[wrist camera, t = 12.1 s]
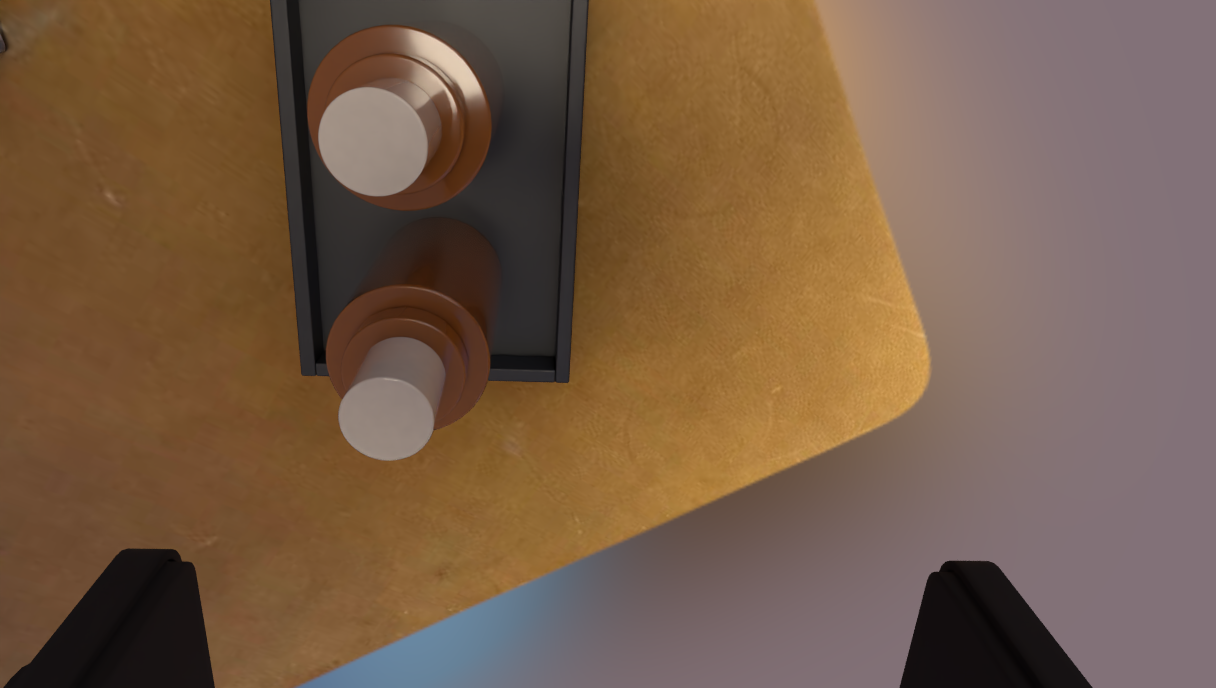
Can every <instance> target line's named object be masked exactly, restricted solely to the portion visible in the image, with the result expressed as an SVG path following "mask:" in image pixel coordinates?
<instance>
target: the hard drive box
mask: <svg viewBox="0 0 1216 688" xmlns="http://www.w3.org/2000/svg"><path fill="white" fill-rule="evenodd" d="M4 51H5V44H4V41H3V39H2V36H1V34H0V53H1V52H4Z"/></svg>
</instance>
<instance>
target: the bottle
mask: <svg viewBox="0 0 1216 688" xmlns="http://www.w3.org/2000/svg"><path fill="white" fill-rule="evenodd" d="M504 102H505V87H504V81H503V76H502V73H501V70H500V67H499V65H498V63H497V61H496V59H495V57H494V56H493V54H492V52H491V51H490V50H489V48H488V47H487V46H486V45H485V44H484V43H483V42H482V41H481V40H480V39H479V38H478V37H477V36H476V35H474V34H473V33H472V32H470V31H468V30H467V29H465V28H463V27H461V26H459V25H456V24H454V23H450V22H446V21H440V20H423V21H414V22H404V23H395V24H386V25H379V26H372V27H369V28H365V29H362V30H359V31H357V32H355V33H353V34H351V35H349V36H347V37H346V38H344V39H343V40H341V41H340V42H339V43H337V44H336V45H335V46H334V47H333V48H332V49H331V50H330V51H329V52H328V53H327V55H326V56H325V57H324V58H323V60H322V61H321V63H320V64H319V66H318V68H317V69H316V72H315V74H314V76H313V79H312V82H311V85H310V89H309V93H308V101H307V118H308V126H309V131H310V135H311V138H312V142H313V144H314V147H315V149H316V151H317V153H318V155H319V157H320V159H321V161H322V162H323V164H324V165H325V167H326V168H327V170H328V171H329V172H330V174H331V175H332V176H333V177H334V178H335V179H336V180H337V181H338V182H339V183H340V184H341V185H342V186H343V187H345V188H346V189H347V190H348V191H350V192H351V193H353V194H354V195H355V196H357V197H359V198H361V199H362V200H364V201H366V202H368V203H371V204H374V205H376V206H379V207H383V208H387V209H391V210H400V211H416V210H423V209H428V208H431V207H435V206H438V205H440V204H442V203H445V202H447V201H449V200H450V199H452V198H454V197H455V196H457V195H458V194H459V193H460V192H462V191H463V190H464V189H465V188H466V187H467V186H468V185H469V184H470V183H471V182H472V181H473V179H474V178H475V177H476V175H477V174H478V172H479V171H480V169H481V167H482V165H483V163H484V161H485V159H486V156H487V153H488V151H489V148H490V146H491V143H492V140H493V138H494V135H495V133H496V130H497V127H498V125H499V122H500V119H501V116H502V113H503V109H504Z"/></svg>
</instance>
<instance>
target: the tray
mask: <svg viewBox="0 0 1216 688" xmlns="http://www.w3.org/2000/svg"><path fill="white" fill-rule="evenodd" d="M588 4H589V0H270V5H271V17H272V29H273V41H274V53H275V65H276V77H277V89H278V101H279V112H280V124H281V136H282V148H283V160H284V172H285V184H286V196H287V208H288V220H289V231H290V243H291V255H292V267H293V279H294V291H295V303H296V315H297V327H298V339H299V350H300V362H301V374H302V375H303V376H316V375H317V376H329V373H328V369H327V364H326V344H327V338H328V335H329V332H330V329H331V327H332V325H333V323H334V321H335V319H336V318H337V316H338V315H339V313H340V312H341V310H342V309H343V307H344V306H345V304H346V303H347V301H348V300H349V298H350V297H351V295H352V294H353V292H354V291H355V289H356V288H357V286H358V285H359V283H360V282H361V280H362V279H363V277H364V276H365V274H366V273H367V271H368V270H369V268H370V267H371V265H372V264H373V262H374V261H375V259H376V258H377V256H378V255H379V253H380V252H381V250H382V249H383V247H384V246H385V244H386V243H387V241H388V240H389V239H390V237H391V236H392V235H393V234H394V233H395V232H396V231H398V230H399V229H400V228H401V227H403V226H405V225H406V224H408V223H410V222H413V221H415V220H418V219H422V218H428V217H446V218H452V219H456V220H459V221H461V222H464V223H466V224H468V225H470V226H472V227H473V228H475V229H476V230H478V231H479V232H480V233H481V234H482V235H483V236H485V237H486V239H487V240H488V241H489V242H490V243H491V245H492V246H493V248H494V249H495V251H496V253H497V255H498V257H499V260H500V263H501V268H502V275H503V283H502V292H501V298H500V305H499V312H498V319H497V325H496V332H495V339H494V346H493V353H492V359H491V366H490V373H489V377H488V381H522V382H558V383H568V382H569V374H570V354H571V335H572V315H573V296H574V276H575V257H576V238H577V218H578V199H579V179H580V160H581V140H582V121H583V101H584V82H585V63H586V43H587V24H588ZM423 20H440V21H446V22H450V23H454V24H456V25H459V26H461V27H463V28H465V29H467V30H468V31H470V32H472V33H473V34H474V35H476V36H477V37H478V38H479V39H480V40H481V41H482V42H483V43H484V44H485V45H486V46H487V47H488V48H489V50H490V51H491V52H492V54H493V56H494V57H495V59H496V61H497V63H498V65H499V67H500V70H501V73H502V76H503V81H504V87H505V102H504V109H503V113H502V116H501V119H500V122H499V125H498V127H497V130H496V133H495V135H494V138H493V140H492V143H491V146H490V148H489V151H488V153H487V156H486V159H485V161H484V163H483V165H482V167H481V169H480V171H479V172H478V174H477V175H476V177H475V178H474V179H473V181H472V182H471V183H470V184H469V185H468V186H467V187H466V188H465V189H464V190H463V191H462V192H460V193H459V194H458V195H457V196H455V197H454V198H452V199H450V200H449V201H447V202H445V203H442V204H440V205H438V206H435V207H431V208H428V209H423V210H416V211H400V210H391V209H387V208H383V207H379V206H376V205H374V204H371V203H368V202H366V201H364V200H362V199H361V198H359V197H357V196H355V195H354V194H353V193H351V192H350V191H348V190H347V189H346V188H345V187H343V186H342V185H341V184H340V183H339V182H338V181H337V180H336V179H335V178H334V177H333V176H332V175H331V174H330V172H329V171H328V170H327V168H326V167H325V165H324V164H323V162H322V161H321V159H320V157H319V155H318V153H317V151H316V149H315V147H314V144H313V142H312V138H311V135H310V131H309V126H308V118H307V101H308V93H309V89H310V85H311V82H312V79H313V76H314V74H315V72H316V69H317V68H318V66H319V64H320V63H321V61H322V60H323V58H324V57H325V56H326V55H327V53H328V52H329V51H330V50H331V49H332V48H333V47H334V46H335V45H336V44H337V43H339V42H340V41H341V40H343V39H344V38H346V37H347V36H349V35H351V34H353V33H355V32H357V31H359V30H362V29H365V28H369V27H372V26H379V25H386V24H395V23H404V22H414V21H423Z"/></svg>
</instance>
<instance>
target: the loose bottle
mask: <svg viewBox="0 0 1216 688" xmlns="http://www.w3.org/2000/svg"><path fill="white" fill-rule="evenodd" d="M502 283H503V275H502V268H501V263H500V260H499V257H498V255H497V253H496V251H495V249H494V248H493V246H492V245H491V243H490V242H489V241H488V240H487V239H486V237H485V236H483V235H482V234H481V233H480V232H479V231H478V230H476V229H475V228H473V227H472V226H470V225H468V224H466V223H464V222H461V221H459V220H456V219H452V218H446V217H428V218H422V219H418V220H415V221H413V222H410V223H408V224H406V225H405V226H403V227H401V228H400V229H399V230H398V231H396V232H395V233H394V234H393V235H392V236H391V237H390V239H389V240H388V241H387V243H386V244H385V246H384V247H383V249H382V250H381V252H380V253H379V255H378V256H377V258H376V259H375V261H374V262H373V264H372V265H371V267H370V268H369V270H368V271H367V273H366V274H365V276H364V277H363V279H362V280H361V282H360V283H359V285H358V286H357V288H356V289H355V291H354V292H353V294H352V295H351V297H350V298H349V300H348V301H347V303H346V304H345V306H344V307H343V309H342V310H341V312H340V313H339V315H338V316H337V318H336V319H335V321H334V323H333V325H332V327H331V329H330V332H329V335H328V338H327V344H326V364H327V369H328V373H329V376H330V379H331V381H332V384H333V386H334V388H335V389H336V391H337V393H338V394H339V396H340V397H341V398H342V401H341V404H340V407H339V412H338V419H339V425H340V428H341V431H342V433H343V435H344V437H345V438H346V440H347V441H348V442H349V443H350V445H352V446H353V447H354V448H355V449H356V450H357V451H359V452H361V453H362V454H364V455H366V456H368V457H371V458H374V459H379V460H387V461H389V460H399V459H403V458H407V457H409V456H411V455H413V454H415V453H417V452H418V451H419V450H421V449H422V448H423V447H424V446H425V445H426V443H427V442H428V441H429V439H430V437H431V435H432V432H433V430H436V429H439V428H442V427H445V426H447V425H449V424H451V423H453V422H455V421H457V420H458V419H460V418H461V417H463V416H464V415H465V414H467V413H468V412H469V411H470V410H471V409H472V408H473V407H474V405H475V404H476V403H477V401H478V400H479V399H480V397H481V395H482V393H483V392H484V389H485V387H486V384H487V382H488V377H489V373H490V366H491V359H492V353H493V346H494V339H495V332H496V325H497V319H498V312H499V305H500V298H501V292H502Z"/></svg>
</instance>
